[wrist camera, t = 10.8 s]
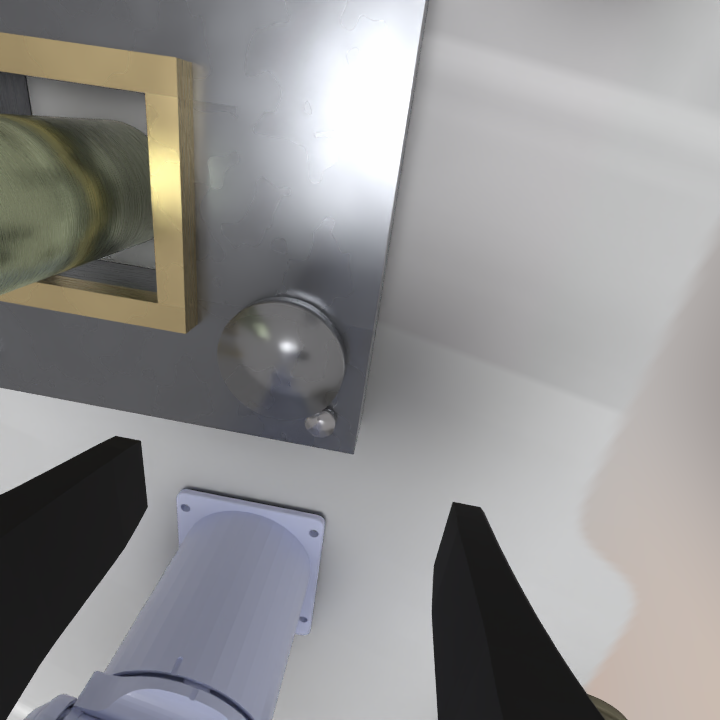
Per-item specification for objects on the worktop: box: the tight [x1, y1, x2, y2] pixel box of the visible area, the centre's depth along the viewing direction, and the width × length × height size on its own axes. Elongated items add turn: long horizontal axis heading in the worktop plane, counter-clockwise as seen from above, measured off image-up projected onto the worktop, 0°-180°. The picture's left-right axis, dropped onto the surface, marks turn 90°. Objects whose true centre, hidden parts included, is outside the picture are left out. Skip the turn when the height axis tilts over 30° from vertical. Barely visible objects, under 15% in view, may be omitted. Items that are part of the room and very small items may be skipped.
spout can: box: [0, 114, 154, 295], centre depth 14 cm, size 5×5×10 cm
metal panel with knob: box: [0, 0, 429, 454], centre depth 17 cm, size 18×18×4 cm
